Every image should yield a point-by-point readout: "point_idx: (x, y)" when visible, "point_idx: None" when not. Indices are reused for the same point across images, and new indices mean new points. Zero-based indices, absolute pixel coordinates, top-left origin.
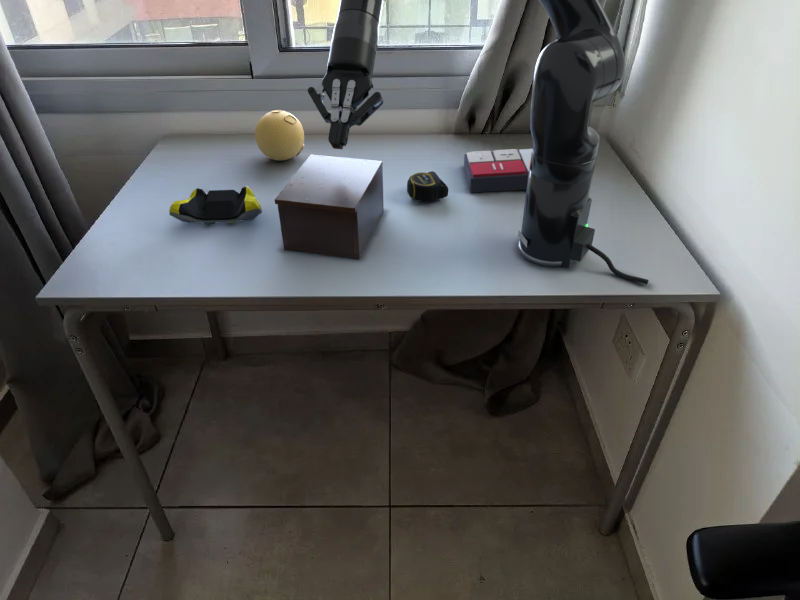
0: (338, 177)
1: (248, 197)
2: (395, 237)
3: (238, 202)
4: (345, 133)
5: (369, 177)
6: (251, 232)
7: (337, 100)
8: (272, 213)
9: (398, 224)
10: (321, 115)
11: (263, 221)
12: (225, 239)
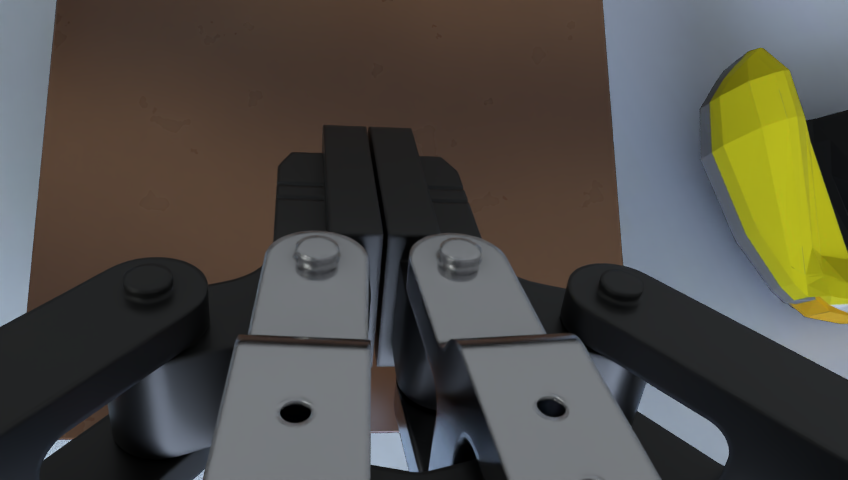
0: (304, 95)
1: (817, 219)
2: (9, 185)
3: (844, 210)
4: (283, 200)
5: (70, 128)
6: (687, 113)
7: (497, 384)
8: (678, 287)
9: (11, 314)
10: (642, 275)
11: (683, 209)
12: (757, 46)
